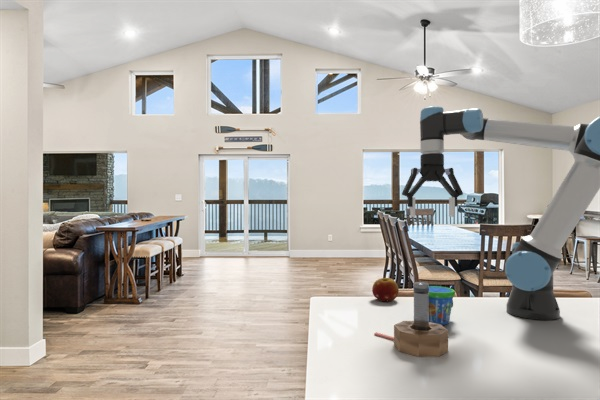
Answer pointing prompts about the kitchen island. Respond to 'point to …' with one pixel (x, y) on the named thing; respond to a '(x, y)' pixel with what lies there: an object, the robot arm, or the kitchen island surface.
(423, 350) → the bead
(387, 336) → the pink stick
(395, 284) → the fruit
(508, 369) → the kitchen island surface
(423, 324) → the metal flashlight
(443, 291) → the snack cup
